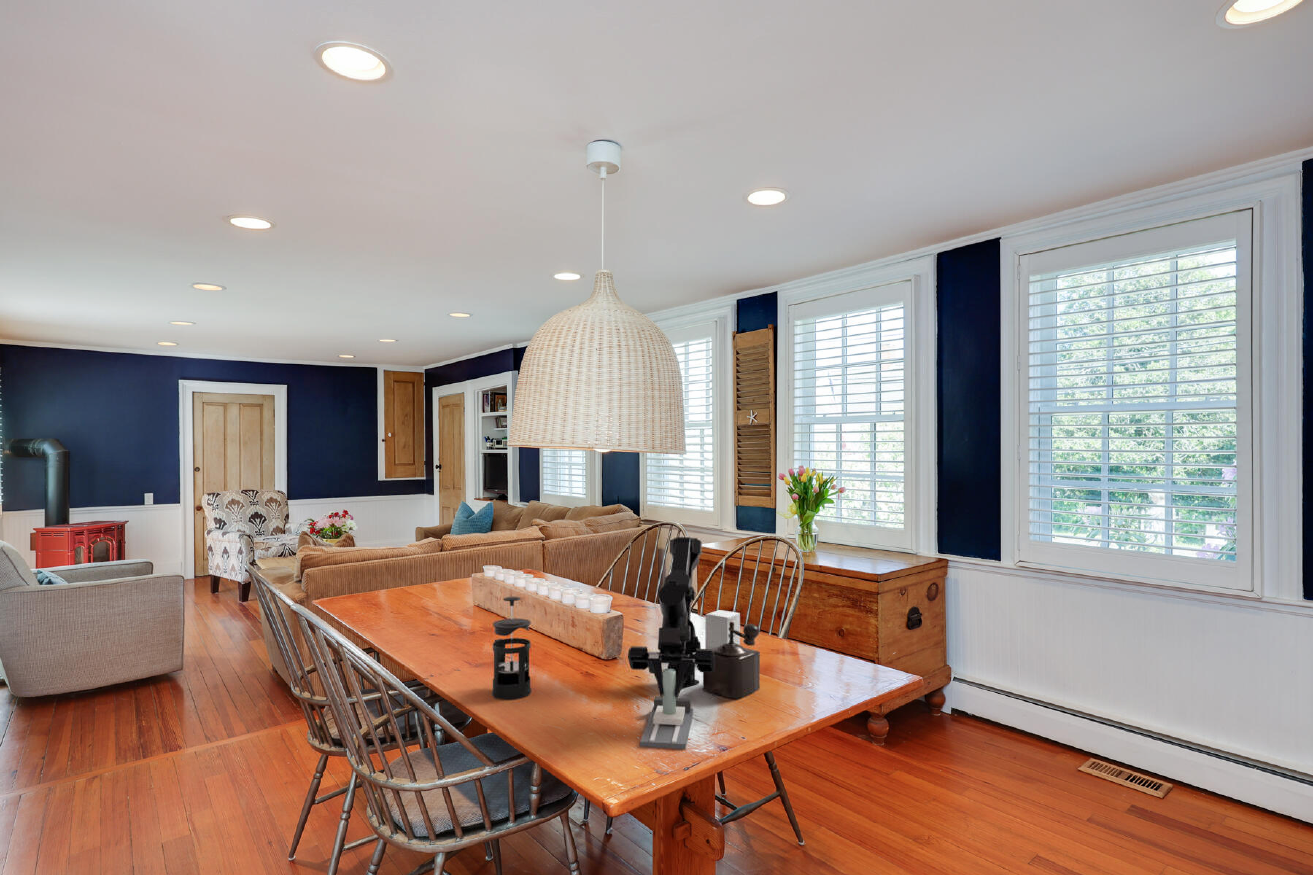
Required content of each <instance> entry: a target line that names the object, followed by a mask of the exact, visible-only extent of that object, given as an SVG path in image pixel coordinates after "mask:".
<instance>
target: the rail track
mask: <svg viewBox="0 0 1313 875" xmlns="http://www.w3.org/2000/svg"><path fill="white" fill-rule="evenodd" d="M691 700H692V698H691V697H679V696H678V697H677V698H676V707H685V714H684V718H683V723H682V725H669V724H653V717H654V714H655V711H656V709H657V706H663V696H662V697H660V696H654V699H653V707H652V709H651V711H650V714H649V717H648V720H647V722H646V725H645V728H644V730H643V733H642V735H641V738H640V741H639V747H641V748H658V749H676V750H686V749H687V744H688V740H689V736H690V730H691V727H692V726H691V725H692V722H693V716H694V708H692V701H691Z"/></svg>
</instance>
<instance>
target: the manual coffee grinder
mask: <svg viewBox="0 0 1313 875" xmlns="http://www.w3.org/2000/svg"><path fill="white" fill-rule="evenodd" d="M729 626H730V627H729V631H730V641H729V643H726V644H723V645H721V646H719V647H716V648H713V649H712V650H713V651H714V658H715V671H714V672H712V673H709V672H702V685H703V686H702V692H703V691H704V692H708V693H710V694H713V695H715V696H719V697H720V696H721V697H724V698H730V699H735V700H739V699H742V698H745V697H748V696H750V695H751V694H750V693H752V694H754V693H756V692H758V691H759V690H760V687H761V686H760V672H761V671H760V669H761V666H760V662H761V661H760V660H761V659H760V658H761V652H760V651H758V650H754V649H750V648H746V647H743V645H741V644H740V645H738V644H736V643H734V641H733V635H734V633H735V634H736V635H738V636H740V638H743V643H744V644H745V645H747V646H748V647H749V646H750V647H751V646H755V645H756V641H755V639H756V638H757V637H758V636H759V635H760V628H759V627H758V626H757V625H755V623H754V624H753V623H748V624H746V625H744V626H743V629H742V631H743V633H742V632H741V631H740V632H738V631H736V630H735V629H734V622H730V623H729ZM758 689H759V690H758ZM755 691H756V692H755ZM753 692H754V693H753ZM749 694H750V695H749ZM747 695H748V696H747Z"/></svg>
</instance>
